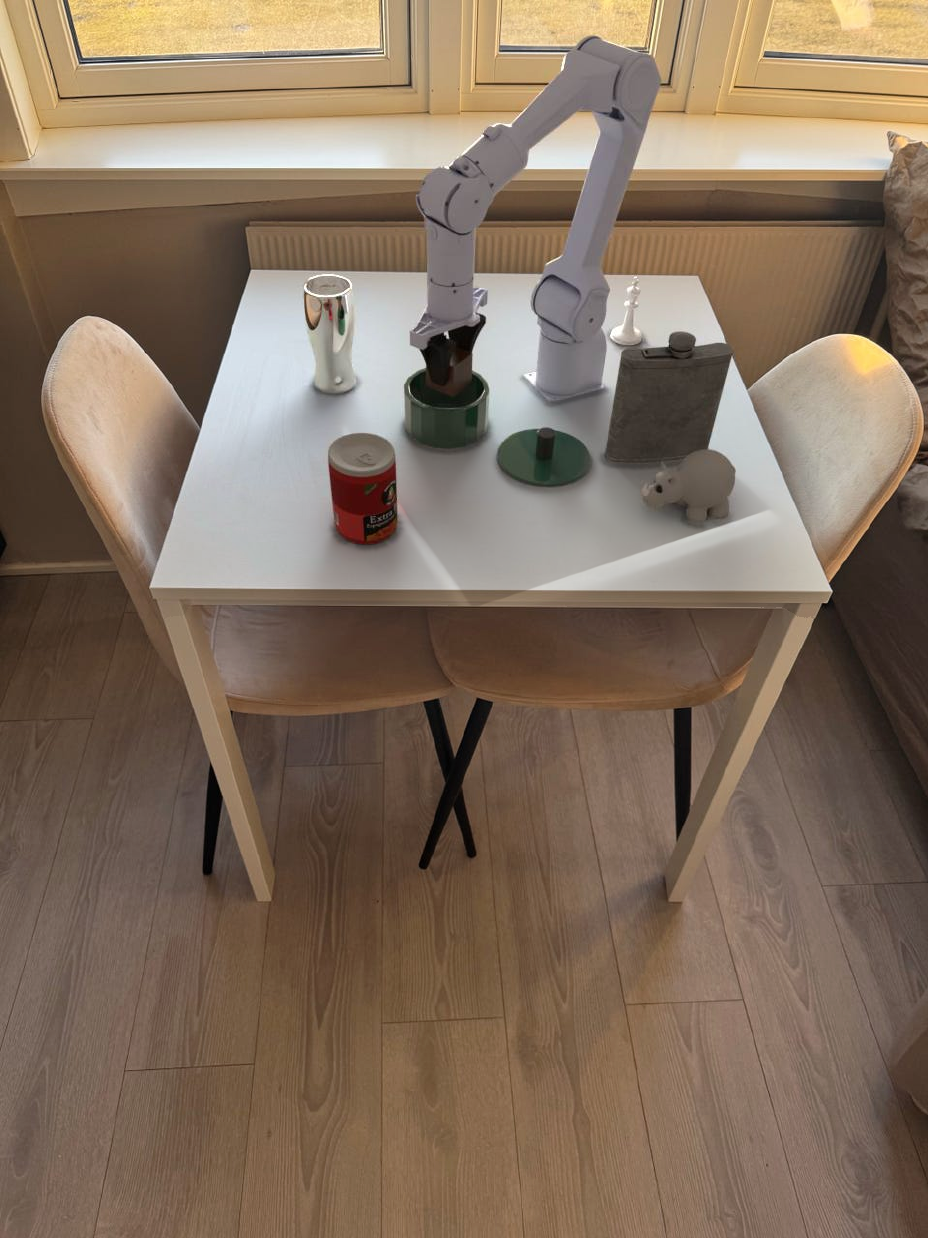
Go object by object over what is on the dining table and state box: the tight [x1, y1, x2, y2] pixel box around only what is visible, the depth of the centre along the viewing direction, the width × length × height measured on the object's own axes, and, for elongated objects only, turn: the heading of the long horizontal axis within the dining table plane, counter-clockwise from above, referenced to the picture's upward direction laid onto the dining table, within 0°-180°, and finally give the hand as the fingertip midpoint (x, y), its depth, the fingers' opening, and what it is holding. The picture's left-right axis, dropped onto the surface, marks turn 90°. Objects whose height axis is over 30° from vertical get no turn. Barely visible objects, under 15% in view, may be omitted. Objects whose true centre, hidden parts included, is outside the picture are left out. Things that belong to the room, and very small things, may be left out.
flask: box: [604, 330, 734, 464], centre depth 119 cm, size 4×14×18 cm, turn 100°
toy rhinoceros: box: [641, 448, 736, 524], centre depth 114 cm, size 7×12×8 cm, turn 105°
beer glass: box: [302, 274, 357, 395], centre depth 131 cm, size 7×7×15 cm
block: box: [425, 347, 474, 397], centre depth 122 cm, size 4×4×4 cm
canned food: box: [327, 432, 398, 545], centre depth 110 cm, size 8×8×11 cm
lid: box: [497, 426, 592, 488], centre depth 122 cm, size 12×12×5 cm
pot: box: [403, 367, 490, 450], centre depth 127 cm, size 11×12×6 cm
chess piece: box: [610, 276, 642, 346], centre depth 144 cm, size 5×5×10 cm
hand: (449, 375), depth 122 cm, fingers closed on block, 4 cm apart
